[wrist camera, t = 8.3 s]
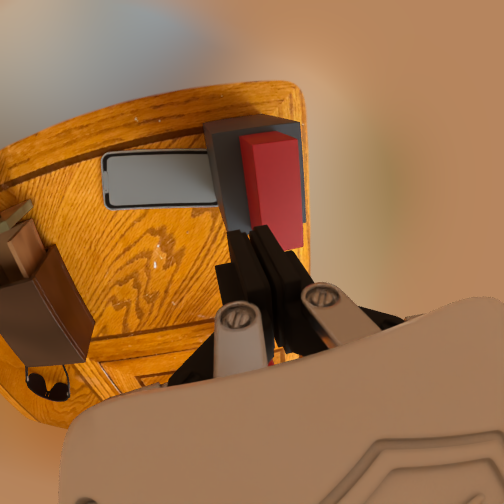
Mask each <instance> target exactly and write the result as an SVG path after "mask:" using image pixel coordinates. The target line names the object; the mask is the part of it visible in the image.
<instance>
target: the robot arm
mask: <svg viewBox="0 0 504 504" xmlns="http://www.w3.org/2000/svg"><path fill="white" fill-rule="evenodd" d="M249 237H250V240H249V238H248V236H247V234H246V232H242V233H241V231H240V229H239V230H234V231H228V232H227V239H228V246H229V252H230V259H231V263H226V264H221V265H216V266H215V270H216V275H217V280H218V285H219V290H220V294H221V299H222V304H223V306H222V307H221V308H220V309H219V310H218V311H217V313H216V316H215V328H214V332H213V333H212V334H211V335H210V337H209V338H208V339H207V340H206V341H205V342H204V343H203V344H202V345H201V346H200V347H199V348H198V349H197V350H196V351H195V352H194V353H193V354H192V355H191V356H190V357H189V358H188V359H187V360H186V361H185V362H184V363H183V365H182V366H181V367H180V368H179V369H178V370H177V371H176V372H175V373H174V374H173V375H172V376H171V378H170V379H169V381H168V382H167V383H164V384H160V383H159V382H157V383H154V384H151V385H148V386H145V387H142V388H139V389H136V390H133V391H129V392H126V393H123V394H120V395H116V396H113V397H110V398H108V399H106V400H104V401H103V402H101V403H99V404H96V405H94V406H92V407H90V408H88V409H87V410H85V411H83V412H82V413H81V414H79V415H78V416H77V417H76V418H75V419H74V420H73V421H72V423H71V425H70V426H69V428H68V431H67V433H66V436H65V440H64V444H63V449H62V454H61V461H60V471H59V491H58V494H59V504H504V303H503V302H501V301H500V300H498V299H495V298H491V297H472V298H467V299H463V300H459V301H457V302H453V303H450V304H448V305H446V306H443V307H440V308H438V309H436V310H433V311H431V312H429V313H426V314H421V315H414V316H409V317H405V319H404V320H403V319H401V318H399V317H396V316H393V315H389V314H386V313H382V312H378V311H375V310H371V309H367V308H364V307H360V306H357V305H356V304H355V303H354V302H353V301H352V300H351V299H350V298H349V297H348V296H347V295H346V294H345V293H344V292H343V291H342V290H341V289H340V288H338V287H337V286H335V285H333V284H330V283H324V282H318V283H314V282H313V280H312V278H311V277H310V275H309V274H308V272H307V271H306V269H305V268H304V266H303V265H302V263H301V262H300V260H299V259H298V258H297V256H296V255H295V253H294V252H293V251H286V252H284V250H283V249H282V247H281V246H280V244H279V243H278V241H277V239H276V238H275V236H274V235H273V233H272V232H271V230H270V228H269V227H268V225H267V224H266V225H261V226H255V227H253V230H252V231H249ZM274 338H275V340H276V343H277V345H278V347H282V346H283V348H284V350H285V353H286V354H288V353H292V352H293V353H296V354H299V358H298V359H295V360H291V361H287V362H284V363H280V364H276V365H272V366H268V364H269V362H270V361H271V360H272V358H273V357H274V348H275V343H274Z"/></svg>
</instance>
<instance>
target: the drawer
mask: <svg viewBox="0 0 504 504" xmlns="http://www.w3.org/2000/svg"><path fill="white" fill-rule="evenodd" d="M32 208H33V205H32V202H31V199H29V200H27V201H24V202H22V203H20V204H17V205H15V206H13V207H11V208H8V209H6V210H4V211H2V212H0V286H2V285H6V284H9V283H13V282H16V281H20V280H24V279H27V278H30V277H31V275H32V274H33V272H34V271H35V269H36V268H37V266H38V265H39V263H40V262H41V260H42V259H43V257H44V256H45V254H46V251H45V248H44V246H43V244H42V242H41V239H40V237H39V234H38V232H37V230H36V227H35V225H34V222H33V220H32V219H29V220H27V221H24V222H21V223H19V224H17V225H15V224H16V223H17V222H18V221H19V220H20V219H21V218H22V217H23V216H24V215H25V214H26V213H27V212H28V211H29V210H30V209H32Z"/></svg>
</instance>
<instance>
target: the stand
mask: <svg viewBox="0 0 504 504" xmlns="http://www.w3.org/2000/svg"><path fill="white" fill-rule="evenodd" d="M203 129H204V135H205V141H206V147H207V153H208V158H209V164H210V170H211V176H212V181H213V187H214V192H215V196H216V200H217V203H218V206H219V209H220V212H221V215H222V218H223V221H224V224H225V227H226V230H227V232H228V231H234V230H239V229H240V231H241V233H242V232H246V234H247V235H248V234H249V231H252V229H251V221H250V214H249V207H248V199H247V192H246V184H245V177H244V170H243V163H242V155H241V148H240V141H239V136H243V135H249V134H256V133H264V132H271V131H278V132H281V133H283V134H286V135H288V136H291V137H294V138H296V139H298V150H299V164H300V180H301V198H302V219H303V223H306V211H305V189H304V171H303V155H302V142H301V129H300V122H297V121H292V120H288V119H284V118H279V117H274V116H269V115H265V114H257V115H249V116H242V117H235V118H228V119H222V120H216V121H211V122H205V123H203Z"/></svg>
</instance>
